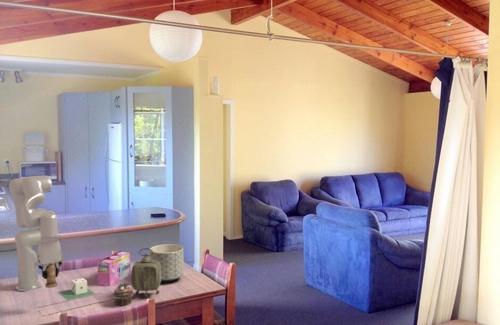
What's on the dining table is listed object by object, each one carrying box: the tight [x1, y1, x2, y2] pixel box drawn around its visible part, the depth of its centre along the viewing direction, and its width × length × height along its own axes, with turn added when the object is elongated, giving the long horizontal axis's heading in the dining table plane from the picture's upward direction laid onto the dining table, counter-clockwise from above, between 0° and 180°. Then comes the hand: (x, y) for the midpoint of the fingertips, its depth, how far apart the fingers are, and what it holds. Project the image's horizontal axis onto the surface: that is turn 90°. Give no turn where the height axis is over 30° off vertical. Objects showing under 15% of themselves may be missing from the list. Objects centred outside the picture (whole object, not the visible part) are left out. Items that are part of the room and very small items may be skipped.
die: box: [71, 277, 88, 295], centre depth 249 cm, size 6×6×6 cm
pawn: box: [45, 263, 58, 289], centre depth 224 cm, size 5×5×11 cm
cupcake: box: [112, 282, 134, 307], centre depth 234 cm, size 10×10×10 cm
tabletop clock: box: [130, 247, 162, 298], centre depth 244 cm, size 14×9×25 cm, turn 92°
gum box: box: [96, 250, 132, 287], centre depth 270 cm, size 24×8×14 cm, turn 164°
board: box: [35, 292, 113, 316], centre depth 233 cm, size 13×33×1 cm, turn 130°
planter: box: [149, 243, 185, 283], centre depth 270 cm, size 19×19×18 cm
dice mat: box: [58, 287, 96, 301], centre depth 248 cm, size 14×14×1 cm
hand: (50, 276), depth 225 cm, fingers closed on pawn, 4 cm apart
